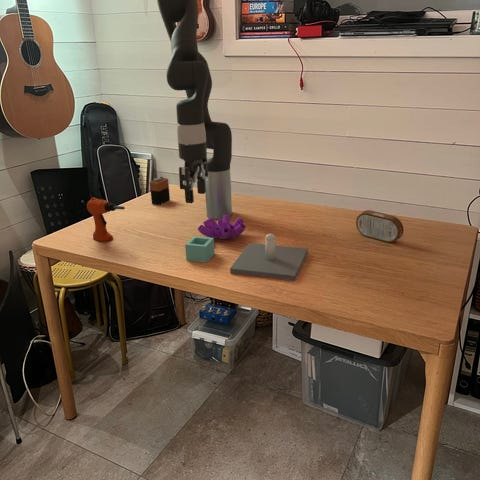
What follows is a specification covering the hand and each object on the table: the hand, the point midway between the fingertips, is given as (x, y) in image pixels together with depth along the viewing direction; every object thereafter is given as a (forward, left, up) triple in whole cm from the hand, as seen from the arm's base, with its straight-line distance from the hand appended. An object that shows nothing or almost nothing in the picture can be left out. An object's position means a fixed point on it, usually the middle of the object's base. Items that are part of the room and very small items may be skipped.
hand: (195, 198), depth 136 cm
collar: (0, 0, -18) cm, 18 cm away
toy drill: (-4, -33, -18) cm, 38 cm away
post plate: (-1, +21, -18) cm, 28 cm away
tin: (-26, +49, -19) cm, 59 cm away
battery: (-44, -35, -18) cm, 59 cm away
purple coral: (-16, +2, -18) cm, 25 cm away
